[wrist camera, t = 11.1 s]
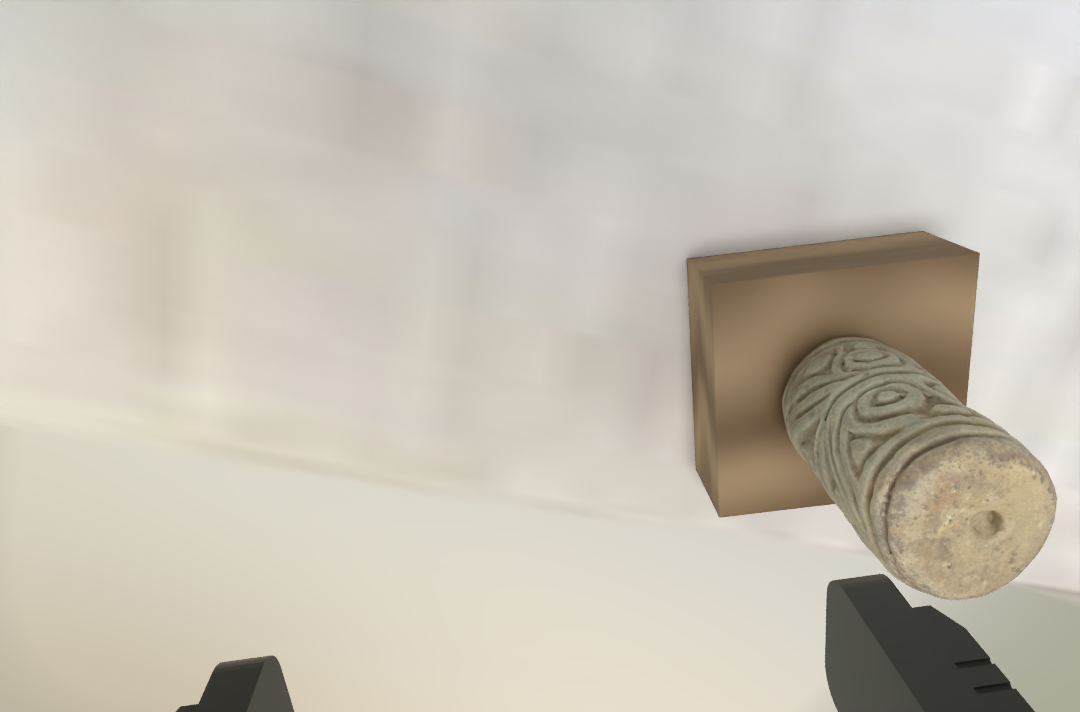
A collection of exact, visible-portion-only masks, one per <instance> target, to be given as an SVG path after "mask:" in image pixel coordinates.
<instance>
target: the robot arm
mask: <svg viewBox="0 0 1080 712" xmlns="http://www.w3.org/2000/svg"><path fill="white" fill-rule="evenodd" d="M826 607H827V609H826V648H825V667H826V675H827V680H828V685H829V689H830V692H831V696H832V698H833V701H834V704H835V706H836V708H837V710H838V712H1035V711H1034V710H1033V709H1032V708H1031V707H1030V705H1029V704H1028V703H1027V702H1026V701H1025V699H1024V698H1023V697H1022V696H1021V695H1020V694H1019V692H1018V691H1017V690H1016V689H1012V687H1011V685H1010V681H1009V680H1008V679H1007V678H1006V677H1005V675H1004V674H1003V673H1002V672H1001V671H1000V669H999V668H998V667H997V666H996V665H995V664H992V663H991V661H990V658H989V656H988V655H987V654H986V653H985V651H984V650H983V649H982V648H981V647H980V645H979V644H978V643H977V642H976V641H975V639H974V638H973V637H972V636H971V635H970V633H969V632H968V631H967V630H966V629H965V628H964V627H962V626H961V625H959V624H958V623H956V622H954V621H953V620H951V619H950V618H949V617H947V616H946V615H944V614H942V613H941V612H939V611H938V610H936V609H935V608H933V607H931V606H923V607H915V608H912V607H911V606H910V605H909V603H908V602H907V601H906V599H905V598H904V597H903V595H902V594H901V593H900V592H899V590H898V589H897V588H896V586H895V585H894V584H893V582H892V581H891V580H890V579H889V578H888V577H887V576H885V575H883V574H878V575H871V576H863V577H856V578H848V579H842V580H834V581H831V582H830V583H829V585H828V588H827V606H826ZM176 712H294V710H293V706H292V703H291V700H290V696H289V693H288V689H287V686H286V683H285V680H284V676H283V673H282V670H281V666H280V664H279V662H278V660H277V658H276V657H274V656H265V657H257V658H250V659H243V660H236V661H229V662H222V663H219V664H218V665H217V666H216V667H215V669H214V671H213V673H212V675H211V677H210V679H209V682H208V684H207V686H206V688H205V691H204V693H203V695H202V698H201V700H200V702H199V704H196V705H189V706H182V707H180V708H179V709H178V710H177V711H176Z"/></svg>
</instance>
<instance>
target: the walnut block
mask: <svg viewBox="0 0 1080 712" xmlns="http://www.w3.org/2000/svg"><path fill="white" fill-rule="evenodd" d="M979 255H980V253H978V252H975V251H973V250H970V249H968V248H965V247H963V246H960V245H957V244H955V243H952V242H950V241H947V240H944V239H942V238H939V237H937V236H934V235H932V234H929V233H926V232H924V231H921V232H912V233H903V234H895V235H886V236H878V237H869V238H861V239H852V240H844V241H835V242H827V243H818V244H810V245H801V246H793V247H784V248H776V249H767V250H758V251H750V252H741V253H733V254H724V255H716V256H707V257H699V258H690V259H687V275H688V298H689V321H690V343H691V366H692V389H693V412H694V434H695V457H696V470H697V472H698V474H699V476H700V478H701V481H702V483H703V485H704V487H705V489H706V491H707V493H708V495H709V497H710V499H711V501H712V503H713V505H714V507H715V509H716V511H717V513H718V516H719V518H720V517H728V516H736V515H745V514H753V513H762V512H770V511H778V510H787V509H795V508H803V507H812V506H820V505H829V504H836V503H835V502H834V501H833V500H832V499H831V498H830V496H829V495H828V493H827V492H826V490H825V489H824V487H823V485H822V482H821V480H819V479H818V478H817V477H816V476H815V474H814V473H813V471H812V469H811V467H810V466H809V464H808V463H807V462H806V461H805V460H804V459H803V458H802V457H801V456H800V455H799V454H798V452H797V451H796V449H795V447H794V446H793V444H792V442H791V440H790V438H789V436H788V433H787V430H786V426H785V421H784V416H783V409H782V398H783V394H784V391H785V388H786V385H787V383H788V381H789V379H790V377H791V374H792V372H793V371H794V369H795V368H796V367H797V366H798V365H799V363H800V362H801V361H802V360H803V359H804V358H805V357H806V356H807V355H809V354H810V353H811V352H812V351H813V350H814V349H816V348H817V347H819V346H820V345H822V344H823V343H825V342H827V341H829V340H832V339H835V338H842V337H860V338H869V339H873V340H875V341H878V342H880V343H882V344H885V345H887V346H888V347H891V348H894V349H896V350H899V351H901V352H902V353H904V354H906V355H907V356H909V357H910V358H912V359H913V360H914V361H916V362H917V363H918V364H919V365H920V366H921V367H922V368H923V369H925V370H926V371H928V372H929V373H930V374H932V375H933V376H934V377H935V378H936V379H938V380H939V381H940V382H941V383H942V384H943V385H944V386H945V387H946V388H947V389H948V390H949V391H950V392H951V393H952V394H953V395H954V396H955V397H956V398H957V399H958V400H959V401H960V402H961V403H962V405H964V406H966V402H967V391H968V380H969V368H970V357H971V346H972V334H973V323H974V312H975V301H976V289H977V278H978V267H979Z"/></svg>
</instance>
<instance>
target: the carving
mask: <svg viewBox="0 0 1080 712" xmlns="http://www.w3.org/2000/svg"><path fill="white" fill-rule="evenodd" d="M782 409H783V416H784V421H785V426H786V430H787V433H788V436H789V438H790V440H791V442H792V444H793V446H794V447H795V449H796V451H797V452H798V454H799V455H800V456H801V457H802V458H803V459H804V460H805V461H806V462H807V463H808V464H809V466H810V467H811V469H812V471H813V473H814V474H815V476H816V477H817V478H818V479H819V480H821V482H822V485H823V487H824V489H825V490H826V492H827V493H828V495H829V496H830V498H831V499H832V500H833V501H834V502H835V503H836V504H837V506H838V507H839V508H840V510H841V511H842V512H843V513H844V515H845V517H846V518H847V520H848V521H849V523H851V524H852V526H853V528H854V529H855V531H856V533H857V534H858V536H859V537H860V539H861V540H862V542H863V543H864V544H865V545H866V546H867V547H868V548H869V549H870V550H871V551H872V552H873V553H874V554H875V556H876V557H877V558H878V559H879V560H880V562H881V563H882V564H883V566H884V567H885V568H886V569H887V570H888V571H889V572H890V573H891V574H892V575H893V576H894V577H895V578H897V579H898V580H900V581H901V582H903V583H905V584H906V585H908V586H910V587H912V588H914V589H916V590H919V591H921V592H924V593H927V594H930V595H933V596H935V597H938V598H941V599H947V600H966V599H971V598H976V597H981V596H984V595H987V594H989V593H991V592H993V591H995V590H997V589H999V588H1001V587H1002V586H1004V585H1006V584H1007V583H1009V582H1010V581H1012V580H1013V579H1014V578H1016V577H1017V576H1018V575H1019V574H1020V573H1021V572H1022V571H1023V570H1024V569H1025V568H1026V567H1027V566H1028V565H1029V564H1030V562H1031V561H1032V560H1033V559H1034V558H1035V557H1036V555H1037V554H1038V553H1039V551H1040V550H1041V548H1042V547H1043V545H1044V543H1045V541H1046V539H1047V537H1048V535H1049V532H1050V530H1051V528H1052V525H1053V522H1054V518H1055V511H1056V503H1057V496H1056V492H1055V488H1054V485H1053V483H1052V481H1051V478H1050V476H1049V474H1048V472H1047V470H1046V469H1045V467H1044V466H1043V465H1042V464H1041V462H1040V461H1039V460H1038V459H1037V458H1036V457H1035V456H1033V455H1032V454H1031V453H1030V451H1029V450H1028V449H1027V448H1026V447H1025V446H1024V445H1023V444H1021V443H1020V442H1019V441H1018V440H1017V439H1015V438H1014V437H1012V436H1011V435H1010V434H1009V433H1008V432H1007V431H1005V430H1004V429H1003V428H1001V427H1000V426H998V425H996V424H995V423H994V422H993V421H991V420H990V419H988V418H987V417H985V416H983V415H981V414H979V413H978V412H976V411H974V410H972V409H970V408H968V407H966V406H964V405H962V403H961V402H960V401H959V400H958V399H957V398H956V397H955V396H954V395H953V394H952V393H951V392H950V391H949V390H948V389H947V388H946V387H945V386H944V385H943V384H942V383H941V382H940V381H939V380H938V379H936V378H935V377H934V376H933V375H932V374H930V373H929V372H928V371H926V370H925V369H923V368H922V367H921V366H920V365H919V364H918V363H917V362H916V361H914V360H913V359H912V358H910V357H909V356H907V355H906V354H904V353H902V352H901V351H899V350H896V349H894V348H891V347H888V346H887V345H885V344H882V343H880V342H878V341H875V340H873V339H869V338H860V337H842V338H835V339H832V340H829V341H827V342H825V343H823V344H822V345H820V346H819V347H817V348H816V349H814V350H813V351H812V352H811V353H810V354H809V355H807V356H806V357H805V358H804V359H803V360H802V361H801V362H800V363H799V365H798V366H797V367H796V368H795V369H794V371H793V372H792V374H791V377H790V379H789V381H788V383H787V385H786V388H785V391H784V394H783V398H782Z"/></svg>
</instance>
